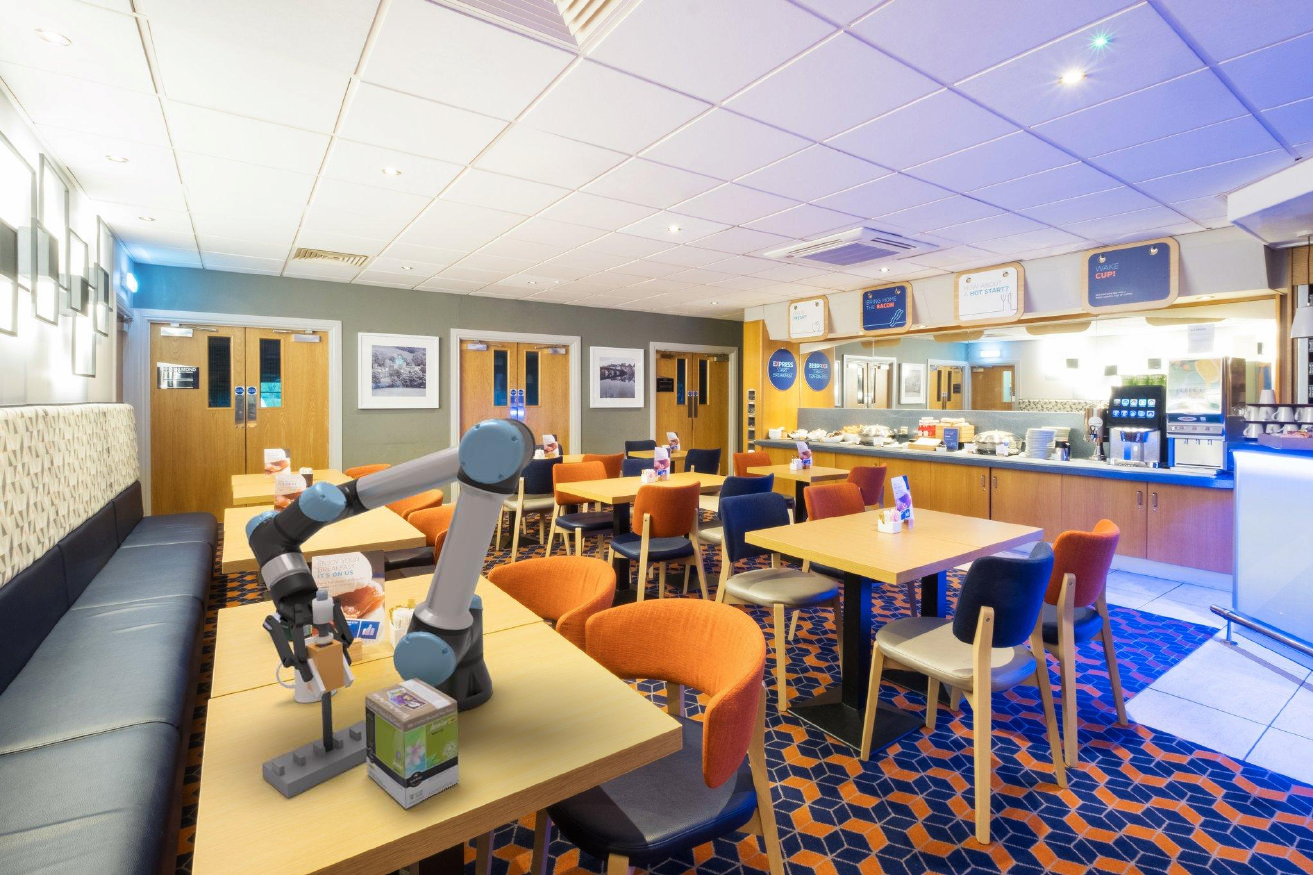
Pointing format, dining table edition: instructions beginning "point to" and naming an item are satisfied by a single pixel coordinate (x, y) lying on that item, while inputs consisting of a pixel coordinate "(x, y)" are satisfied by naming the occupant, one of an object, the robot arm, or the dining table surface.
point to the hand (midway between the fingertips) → (335, 688)
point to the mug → (300, 683)
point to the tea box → (411, 740)
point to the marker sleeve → (327, 664)
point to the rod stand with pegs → (334, 748)
